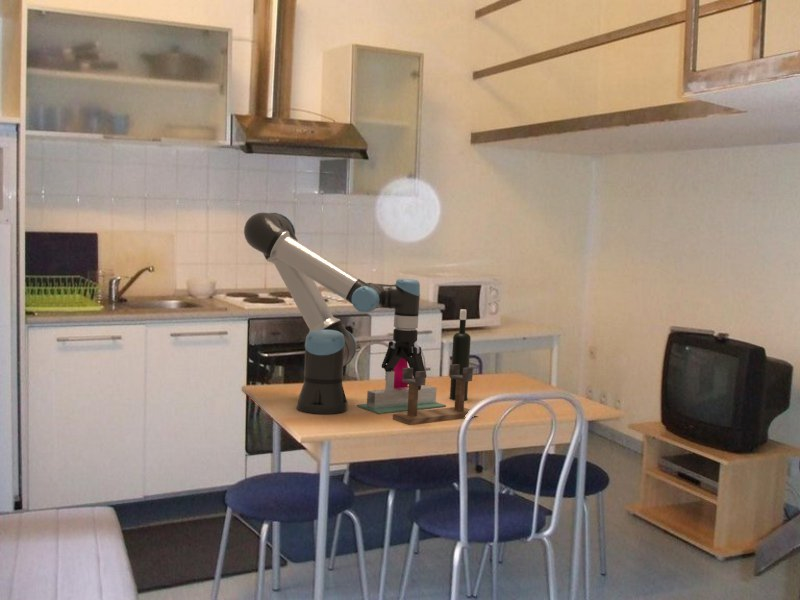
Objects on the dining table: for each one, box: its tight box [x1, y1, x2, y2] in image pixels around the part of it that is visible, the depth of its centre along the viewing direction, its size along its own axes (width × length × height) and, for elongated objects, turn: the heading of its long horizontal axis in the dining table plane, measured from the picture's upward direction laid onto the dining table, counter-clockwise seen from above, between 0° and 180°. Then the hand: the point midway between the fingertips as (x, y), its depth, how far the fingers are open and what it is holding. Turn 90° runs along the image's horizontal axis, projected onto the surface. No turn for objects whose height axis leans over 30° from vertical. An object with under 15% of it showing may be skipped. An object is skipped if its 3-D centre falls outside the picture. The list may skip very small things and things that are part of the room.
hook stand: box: [392, 364, 474, 426], centre depth 261 cm, size 26×8×15 cm, turn 127°
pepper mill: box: [394, 358, 409, 388], centre depth 299 cm, size 7×7×20 cm
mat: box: [356, 401, 447, 415], centre depth 276 cm, size 26×12×1 cm, turn 127°
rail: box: [366, 384, 437, 409], centre depth 275 cm, size 24×4×5 cm, turn 127°
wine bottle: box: [449, 308, 472, 401], centre depth 291 cm, size 6×6×30 cm
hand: (401, 396), depth 275 cm, fingers open, 13 cm apart
